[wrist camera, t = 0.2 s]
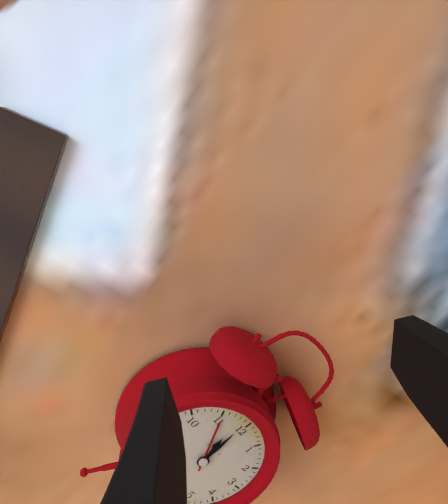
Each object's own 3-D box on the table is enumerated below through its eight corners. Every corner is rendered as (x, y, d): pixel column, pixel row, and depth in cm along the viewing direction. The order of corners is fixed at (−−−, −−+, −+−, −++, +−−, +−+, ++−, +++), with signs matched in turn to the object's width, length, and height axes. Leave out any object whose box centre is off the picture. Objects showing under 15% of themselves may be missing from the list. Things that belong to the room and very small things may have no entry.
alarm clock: (50, 475, 20) (283, 351, 15) (91, 384, 25) (271, 274, 21) (176, 557, 23) (395, 477, 19) (188, 462, 29) (359, 383, 24)
